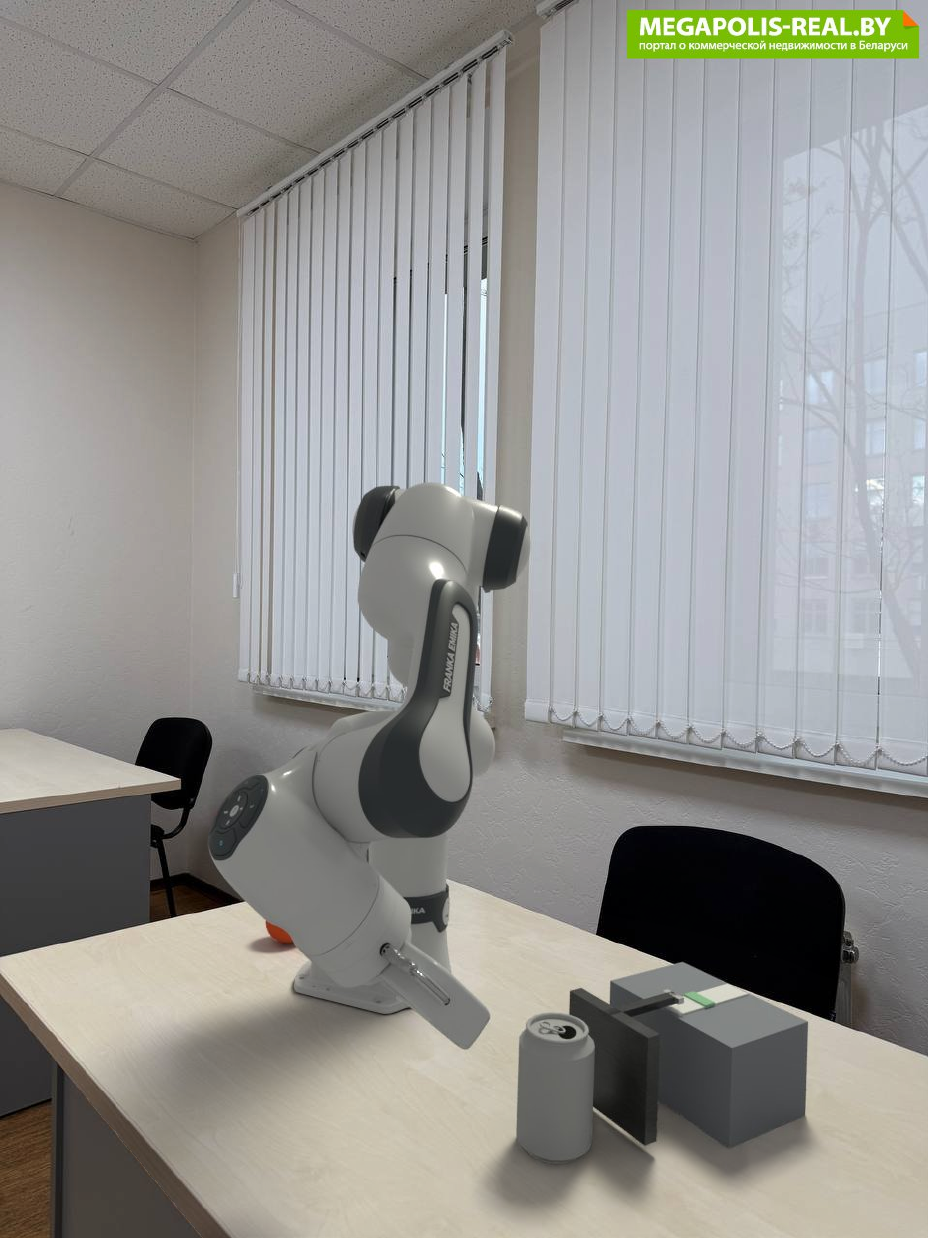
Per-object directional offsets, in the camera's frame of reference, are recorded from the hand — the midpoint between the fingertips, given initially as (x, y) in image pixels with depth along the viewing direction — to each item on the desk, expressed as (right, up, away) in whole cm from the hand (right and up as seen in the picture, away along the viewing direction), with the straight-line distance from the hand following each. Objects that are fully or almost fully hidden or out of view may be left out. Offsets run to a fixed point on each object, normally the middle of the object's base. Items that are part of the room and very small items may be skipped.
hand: (453, 1019), depth 78 cm
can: (+10, -16, +6) cm, 20 cm away
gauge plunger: (+20, -15, +13) cm, 28 cm away
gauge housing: (+28, -16, +18) cm, 37 cm away
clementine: (-27, -15, +57) cm, 65 cm away
